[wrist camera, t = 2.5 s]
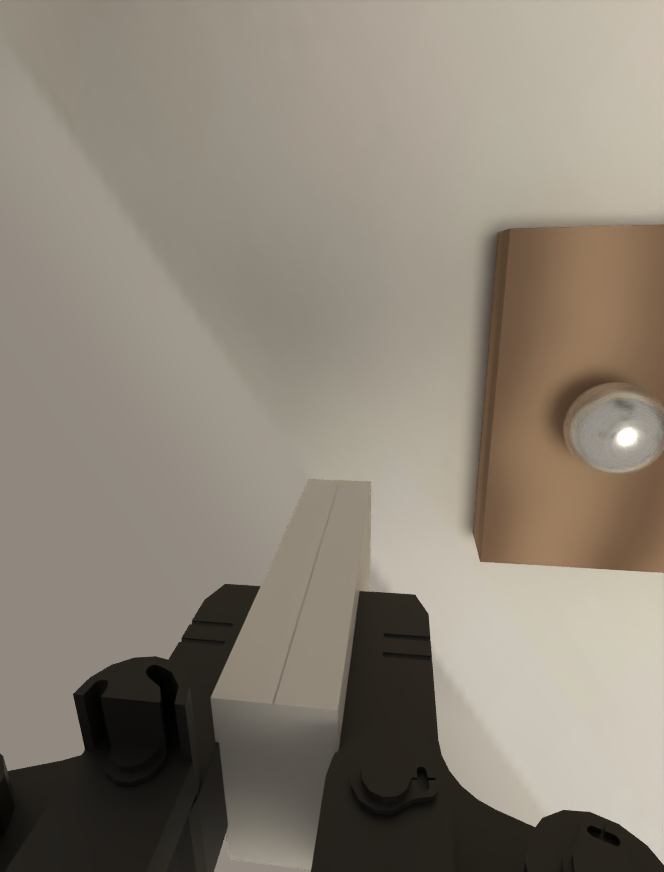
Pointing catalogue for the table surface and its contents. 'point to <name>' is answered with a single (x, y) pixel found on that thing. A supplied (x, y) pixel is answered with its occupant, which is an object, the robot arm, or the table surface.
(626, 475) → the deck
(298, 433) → the table surface
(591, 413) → the ball
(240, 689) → the robot arm
